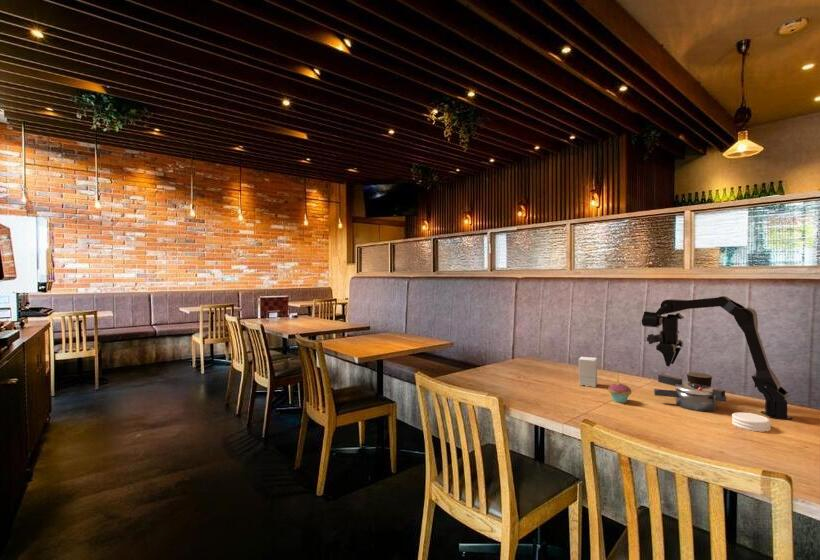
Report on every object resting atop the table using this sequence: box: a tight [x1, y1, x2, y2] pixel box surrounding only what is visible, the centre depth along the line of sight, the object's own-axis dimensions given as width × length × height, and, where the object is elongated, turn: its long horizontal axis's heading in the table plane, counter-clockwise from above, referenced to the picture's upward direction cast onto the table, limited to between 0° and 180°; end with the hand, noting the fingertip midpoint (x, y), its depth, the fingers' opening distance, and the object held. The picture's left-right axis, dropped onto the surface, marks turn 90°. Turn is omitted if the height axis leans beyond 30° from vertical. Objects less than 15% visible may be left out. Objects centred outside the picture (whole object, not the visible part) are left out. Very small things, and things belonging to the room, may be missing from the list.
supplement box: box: [578, 356, 598, 388], centre depth 191 cm, size 7×7×13 cm
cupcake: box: [608, 373, 632, 404], centre depth 166 cm, size 9×8×12 cm
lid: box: [657, 374, 726, 397], centre depth 160 cm, size 24×14×3 cm, turn 23°
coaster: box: [731, 411, 771, 433], centre depth 137 cm, size 10×10×4 cm
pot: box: [653, 388, 727, 413], centre depth 159 cm, size 24×13×6 cm, turn 68°
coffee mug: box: [686, 372, 713, 387], centre depth 169 cm, size 12×9×10 cm
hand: (669, 365), depth 172 cm, fingers open, 6 cm apart
